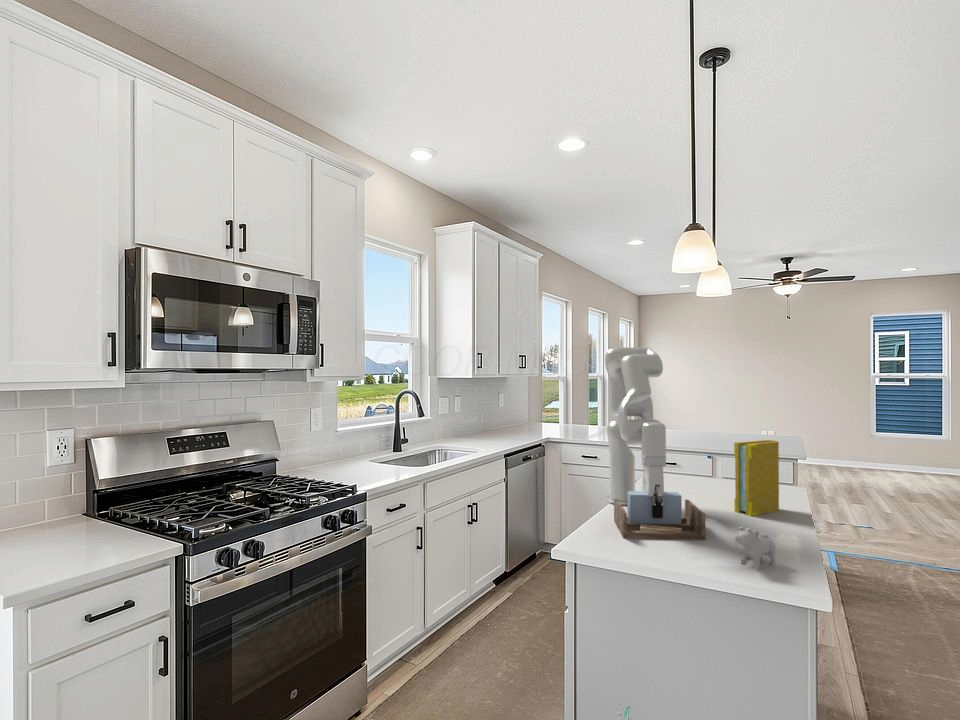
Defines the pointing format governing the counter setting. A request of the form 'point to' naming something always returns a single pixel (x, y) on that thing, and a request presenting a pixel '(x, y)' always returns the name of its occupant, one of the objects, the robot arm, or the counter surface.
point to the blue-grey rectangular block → (642, 508)
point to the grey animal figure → (755, 546)
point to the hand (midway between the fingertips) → (654, 513)
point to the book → (756, 477)
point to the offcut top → (659, 529)
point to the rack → (692, 519)
